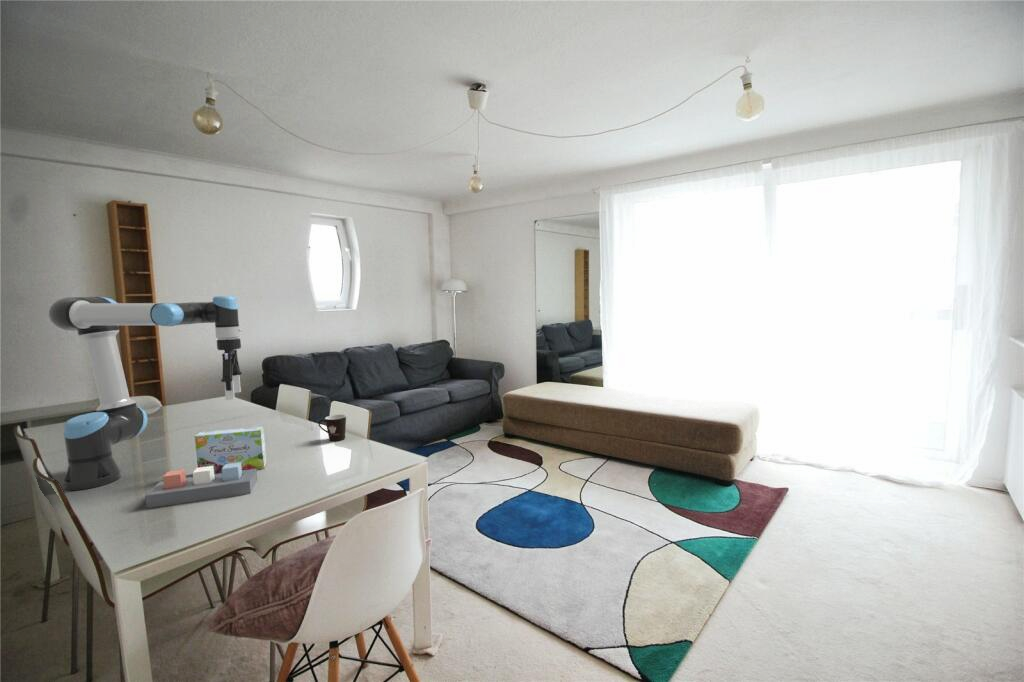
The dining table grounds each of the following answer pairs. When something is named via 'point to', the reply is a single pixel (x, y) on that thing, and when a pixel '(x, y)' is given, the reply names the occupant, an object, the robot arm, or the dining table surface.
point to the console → (201, 490)
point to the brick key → (174, 479)
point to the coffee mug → (335, 427)
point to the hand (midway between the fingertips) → (233, 395)
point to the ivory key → (203, 475)
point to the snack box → (231, 448)
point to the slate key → (232, 471)
